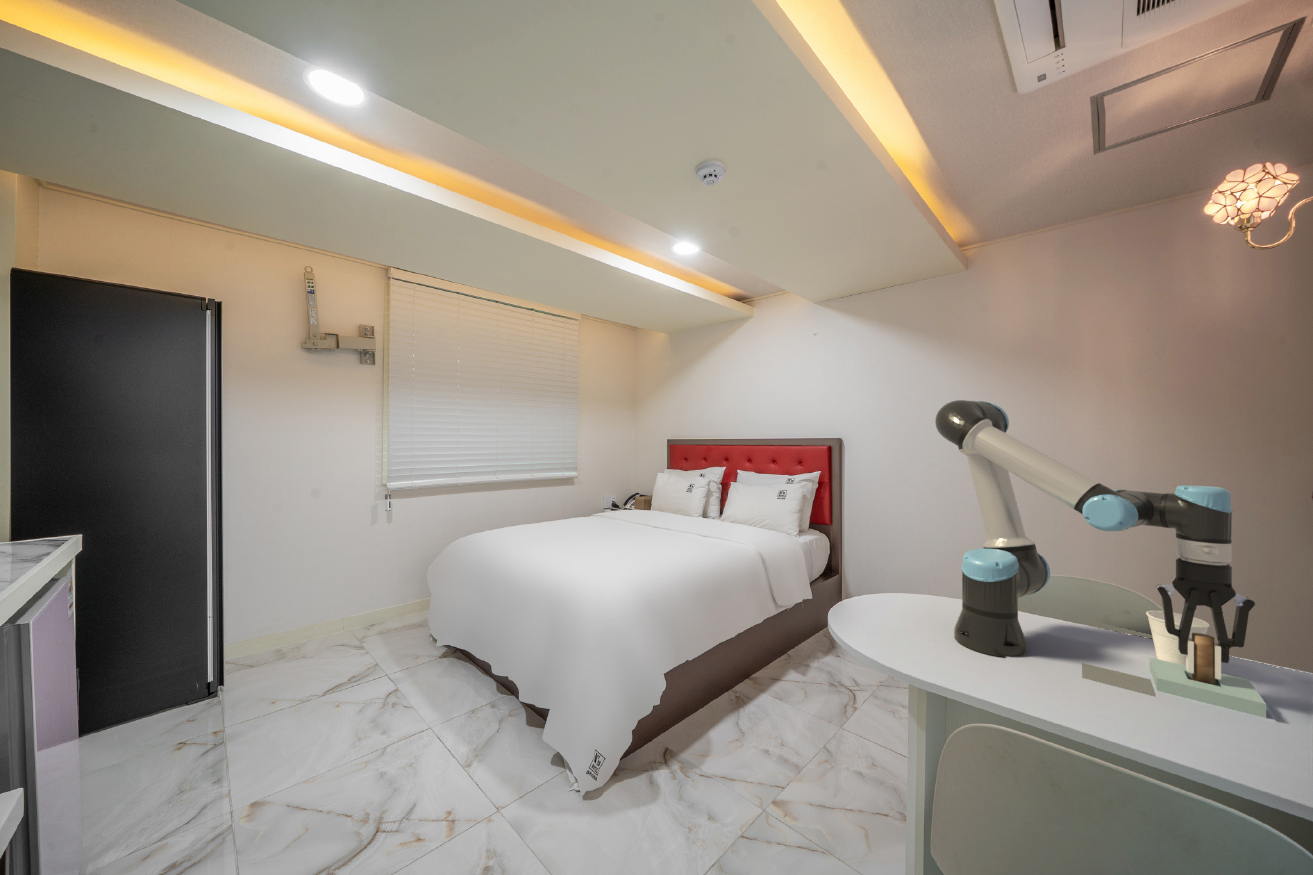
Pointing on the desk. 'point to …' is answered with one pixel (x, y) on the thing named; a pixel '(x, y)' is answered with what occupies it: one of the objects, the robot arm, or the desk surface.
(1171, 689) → the socket block
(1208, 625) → the cup
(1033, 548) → the robot arm
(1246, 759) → the desk surface
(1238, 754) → the desk surface
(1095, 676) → the mat
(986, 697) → the desk surface
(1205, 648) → the peg
